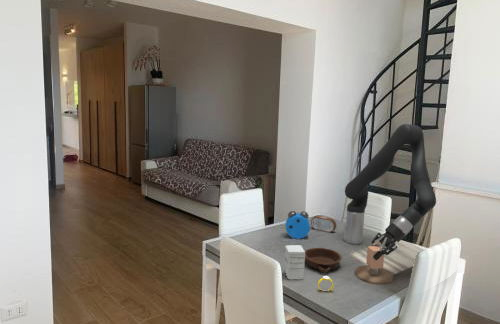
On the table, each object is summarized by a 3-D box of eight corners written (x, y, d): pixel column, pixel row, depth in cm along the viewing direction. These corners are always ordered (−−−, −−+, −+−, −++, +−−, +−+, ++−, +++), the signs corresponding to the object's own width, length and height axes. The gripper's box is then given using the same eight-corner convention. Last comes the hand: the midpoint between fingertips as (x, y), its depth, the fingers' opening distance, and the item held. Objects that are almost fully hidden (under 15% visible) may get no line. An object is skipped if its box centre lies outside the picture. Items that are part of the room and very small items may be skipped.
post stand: (350, 277, 163) (351, 262, 162) (360, 264, 177) (361, 250, 176) (388, 287, 155) (390, 271, 154) (396, 273, 169) (397, 258, 168)
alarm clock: (308, 236, 213) (309, 210, 210) (309, 240, 206) (310, 213, 204) (285, 234, 213) (286, 209, 211) (285, 238, 207) (286, 212, 205)
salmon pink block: (371, 268, 162) (373, 250, 161) (366, 263, 167) (367, 246, 166) (383, 268, 163) (384, 250, 162) (377, 263, 168) (378, 245, 167)
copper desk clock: (336, 232, 219) (337, 218, 218) (334, 234, 217) (335, 220, 215) (311, 227, 227) (312, 214, 226) (309, 228, 225) (310, 215, 223)
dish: (303, 274, 166) (304, 263, 165) (302, 254, 188) (302, 244, 187) (344, 277, 164) (344, 266, 163) (338, 256, 186) (338, 247, 185)
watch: (331, 290, 153) (333, 276, 152) (333, 293, 150) (335, 279, 149) (316, 288, 153) (318, 275, 152) (317, 292, 150) (319, 278, 149)
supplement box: (283, 272, 167) (285, 245, 165) (300, 272, 168) (301, 244, 165) (286, 280, 160) (288, 251, 158) (304, 279, 160) (305, 251, 158)
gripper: (385, 217, 170) (358, 244, 170) (403, 228, 156) (373, 257, 156) (395, 228, 172) (368, 255, 172) (413, 240, 158) (384, 268, 158)
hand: (371, 255), depth 164 cm, fingers closed on salmon pink block, 5 cm apart
